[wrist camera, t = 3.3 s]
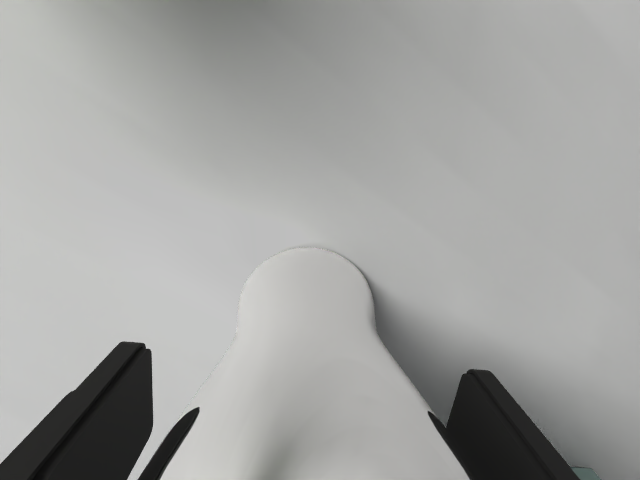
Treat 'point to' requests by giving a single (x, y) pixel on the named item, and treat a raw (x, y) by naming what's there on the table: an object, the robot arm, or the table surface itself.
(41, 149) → the table surface
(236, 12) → the table surface
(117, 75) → the table surface
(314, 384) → the beer glass
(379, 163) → the table surface
